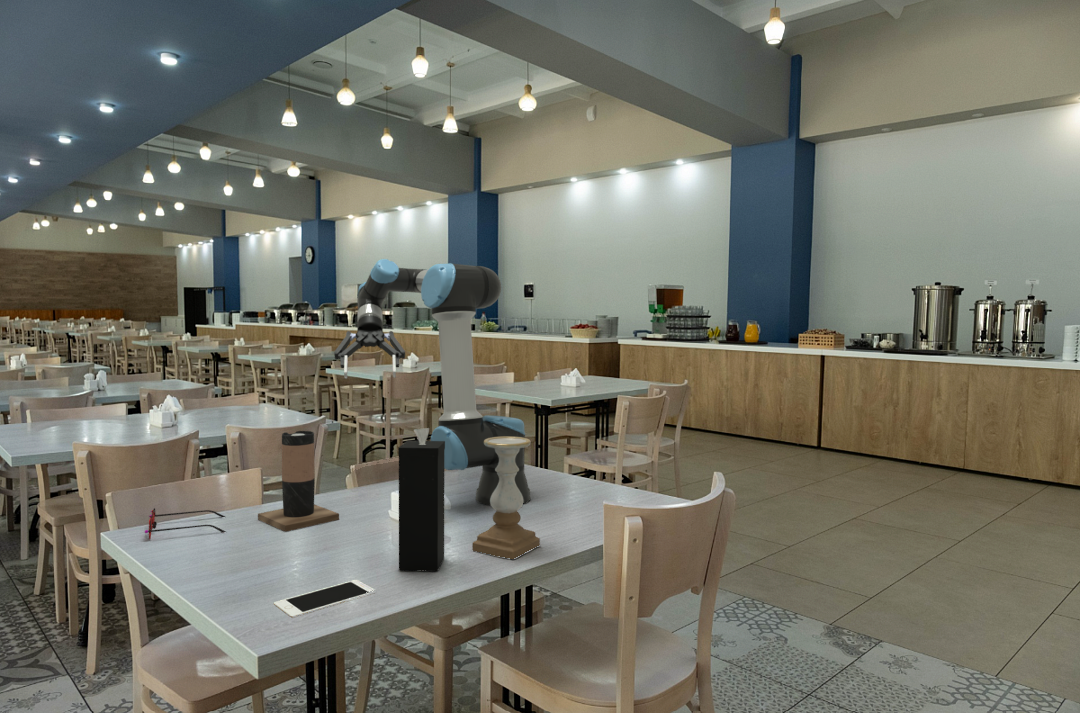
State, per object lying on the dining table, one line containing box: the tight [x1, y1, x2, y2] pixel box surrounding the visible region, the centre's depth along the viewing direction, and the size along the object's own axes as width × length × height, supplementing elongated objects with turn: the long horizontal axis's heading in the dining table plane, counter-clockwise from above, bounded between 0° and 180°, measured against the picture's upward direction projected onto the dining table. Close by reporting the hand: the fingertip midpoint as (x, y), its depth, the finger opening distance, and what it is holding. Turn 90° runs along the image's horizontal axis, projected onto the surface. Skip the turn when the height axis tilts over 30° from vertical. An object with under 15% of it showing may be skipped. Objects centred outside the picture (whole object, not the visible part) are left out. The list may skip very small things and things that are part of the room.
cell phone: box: [273, 579, 375, 618], centre depth 123 cm, size 8×16×1 cm, turn 133°
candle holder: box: [471, 436, 541, 559], centre depth 149 cm, size 11×11×24 cm
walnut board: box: [257, 503, 340, 533], centre depth 170 cm, size 14×14×2 cm
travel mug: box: [281, 430, 316, 517], centre depth 170 cm, size 8×8×20 cm
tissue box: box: [397, 427, 445, 572], centre depth 139 cm, size 8×8×28 cm
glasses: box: [144, 508, 227, 540], centre depth 162 cm, size 14×16×5 cm
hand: (370, 375), depth 198 cm, fingers open, 13 cm apart
